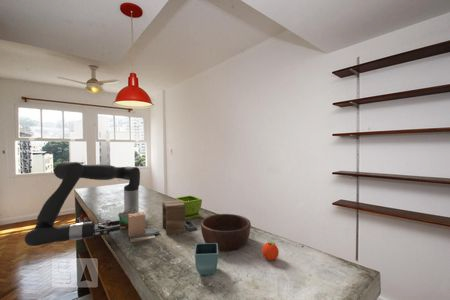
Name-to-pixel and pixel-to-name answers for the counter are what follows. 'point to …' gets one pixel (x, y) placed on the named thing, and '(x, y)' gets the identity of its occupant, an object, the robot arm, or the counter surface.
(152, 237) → the pad
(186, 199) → the flower pot
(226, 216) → the wooden bowl
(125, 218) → the food container
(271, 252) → the clementine
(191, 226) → the pit tray
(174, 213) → the tunnel
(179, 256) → the counter surface
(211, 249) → the flower pot
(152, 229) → the tall wood-grain block
